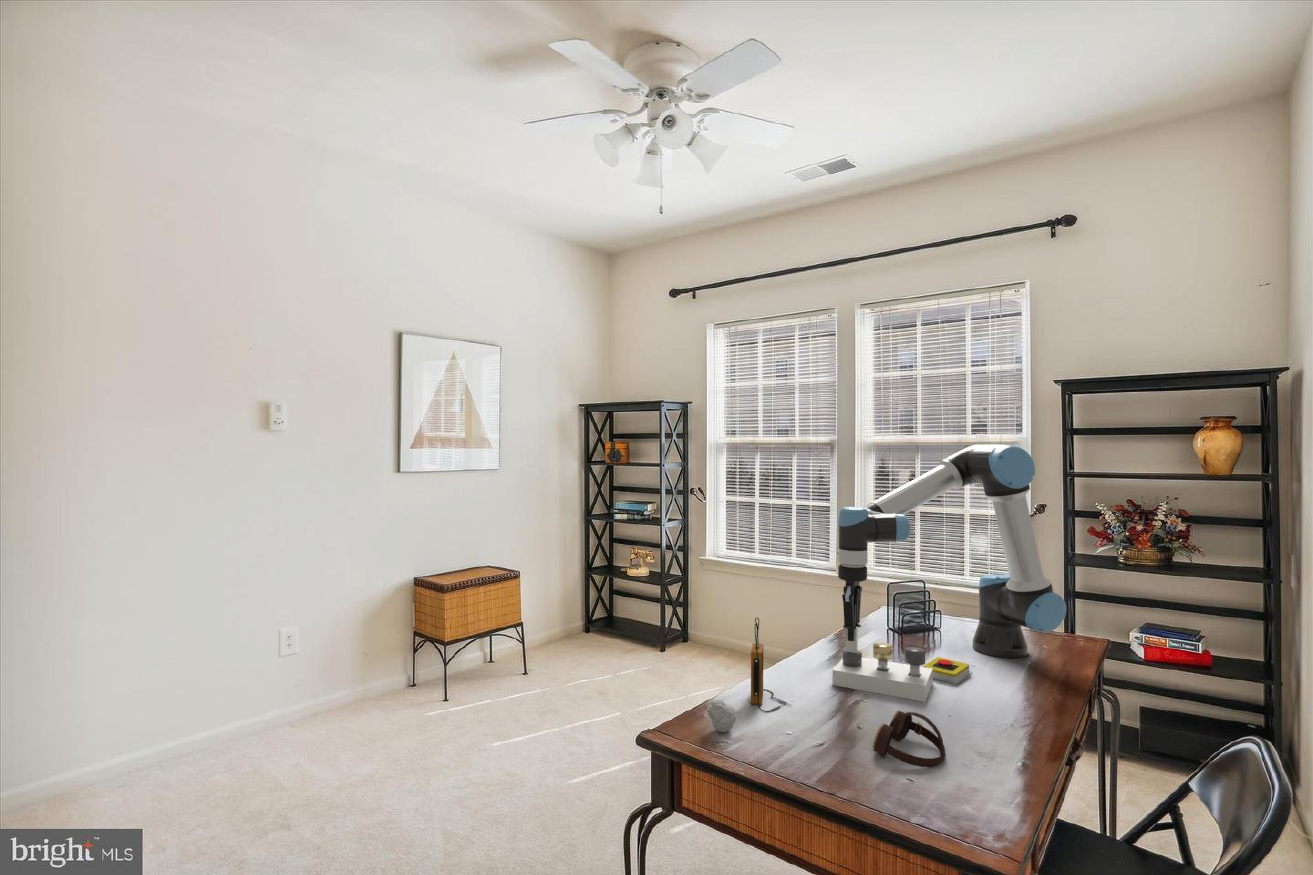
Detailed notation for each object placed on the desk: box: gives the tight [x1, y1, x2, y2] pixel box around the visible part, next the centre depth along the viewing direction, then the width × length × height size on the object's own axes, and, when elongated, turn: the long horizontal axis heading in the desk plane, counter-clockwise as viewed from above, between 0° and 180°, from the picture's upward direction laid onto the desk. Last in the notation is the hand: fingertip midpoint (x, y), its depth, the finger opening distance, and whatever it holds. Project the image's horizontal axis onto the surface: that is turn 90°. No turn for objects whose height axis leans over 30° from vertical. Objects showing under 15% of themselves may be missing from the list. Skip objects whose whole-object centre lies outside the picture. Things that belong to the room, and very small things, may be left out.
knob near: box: [904, 646, 926, 677], centre depth 177 cm, size 5×5×7 cm
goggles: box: [872, 709, 947, 768], centre depth 142 cm, size 15×13×10 cm
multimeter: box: [750, 617, 792, 713], centre depth 169 cm, size 15×10×20 cm
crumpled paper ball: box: [706, 699, 737, 733], centre depth 152 cm, size 6×7×7 cm
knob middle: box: [872, 642, 894, 672], centre depth 181 cm, size 5×5×7 cm
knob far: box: [842, 649, 863, 667], centre depth 185 cm, size 5×5×7 cm
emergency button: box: [922, 656, 973, 687], centre depth 188 cm, size 9×4×15 cm
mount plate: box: [832, 657, 934, 703], centre depth 181 cm, size 23×14×4 cm, turn 61°
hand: (851, 651), depth 185 cm, fingers closed
